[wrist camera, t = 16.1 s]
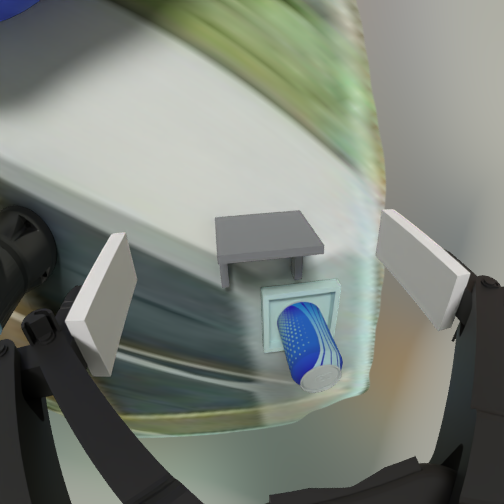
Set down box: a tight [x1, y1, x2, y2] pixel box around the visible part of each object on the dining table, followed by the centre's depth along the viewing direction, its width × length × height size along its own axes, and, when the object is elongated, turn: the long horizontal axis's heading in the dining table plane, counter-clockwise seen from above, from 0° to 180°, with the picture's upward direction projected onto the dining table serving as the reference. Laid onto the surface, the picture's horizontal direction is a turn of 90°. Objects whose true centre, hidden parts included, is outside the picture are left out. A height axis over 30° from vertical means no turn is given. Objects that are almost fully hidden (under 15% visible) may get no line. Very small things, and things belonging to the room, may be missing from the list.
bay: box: [215, 211, 324, 288], centre depth 47 cm, size 13×11×12 cm
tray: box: [261, 279, 341, 353], centre depth 59 cm, size 14×14×2 cm
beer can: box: [277, 301, 343, 393], centre depth 52 cm, size 8×8×16 cm
